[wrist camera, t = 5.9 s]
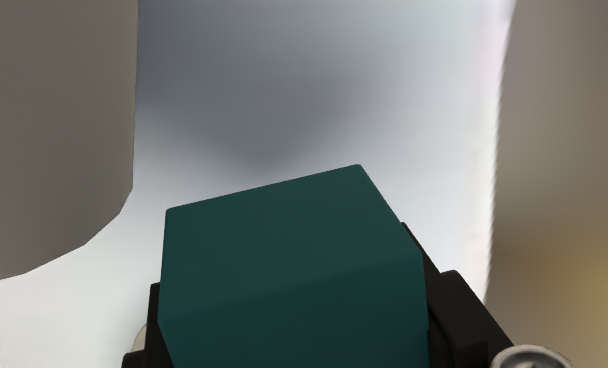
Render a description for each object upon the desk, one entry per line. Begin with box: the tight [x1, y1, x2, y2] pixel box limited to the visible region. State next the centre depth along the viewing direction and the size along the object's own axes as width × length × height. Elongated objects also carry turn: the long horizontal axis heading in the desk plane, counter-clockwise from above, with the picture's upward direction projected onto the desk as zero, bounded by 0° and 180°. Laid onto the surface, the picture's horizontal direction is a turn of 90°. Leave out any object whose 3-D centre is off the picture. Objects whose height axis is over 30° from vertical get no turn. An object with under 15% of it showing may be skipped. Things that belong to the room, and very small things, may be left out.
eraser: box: [157, 164, 431, 368], centre depth 11 cm, size 6×4×4 cm, turn 10°
